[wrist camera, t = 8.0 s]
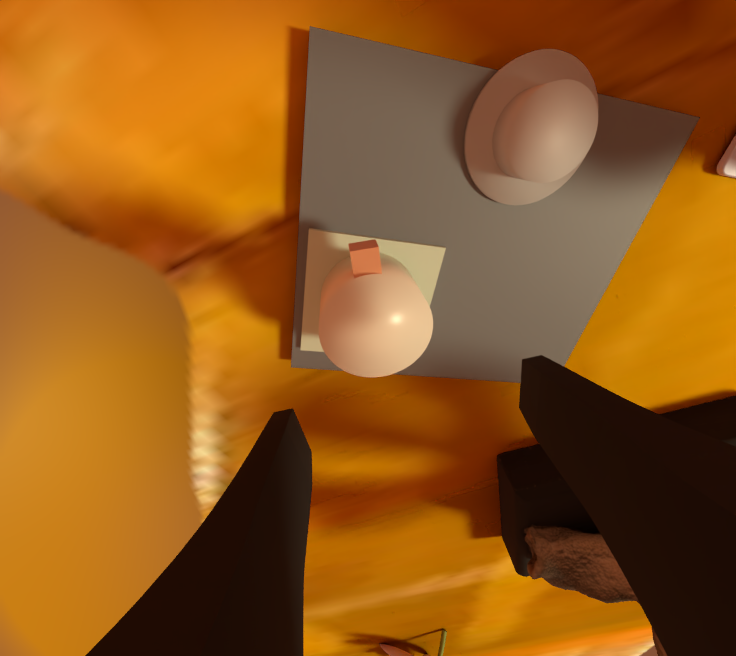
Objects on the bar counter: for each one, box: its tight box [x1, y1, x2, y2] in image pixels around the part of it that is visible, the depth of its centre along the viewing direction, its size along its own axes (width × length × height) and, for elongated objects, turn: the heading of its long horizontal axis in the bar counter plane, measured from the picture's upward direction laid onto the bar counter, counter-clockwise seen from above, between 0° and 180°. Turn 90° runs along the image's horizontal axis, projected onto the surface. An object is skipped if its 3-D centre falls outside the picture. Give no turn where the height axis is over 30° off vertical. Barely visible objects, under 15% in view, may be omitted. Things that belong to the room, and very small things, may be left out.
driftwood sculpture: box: [497, 396, 736, 656], centre depth 20 cm, size 25×20×22 cm
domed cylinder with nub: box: [319, 239, 433, 377], centre depth 16 cm, size 6×5×4 cm
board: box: [291, 26, 700, 383], centre depth 17 cm, size 18×17×3 cm
